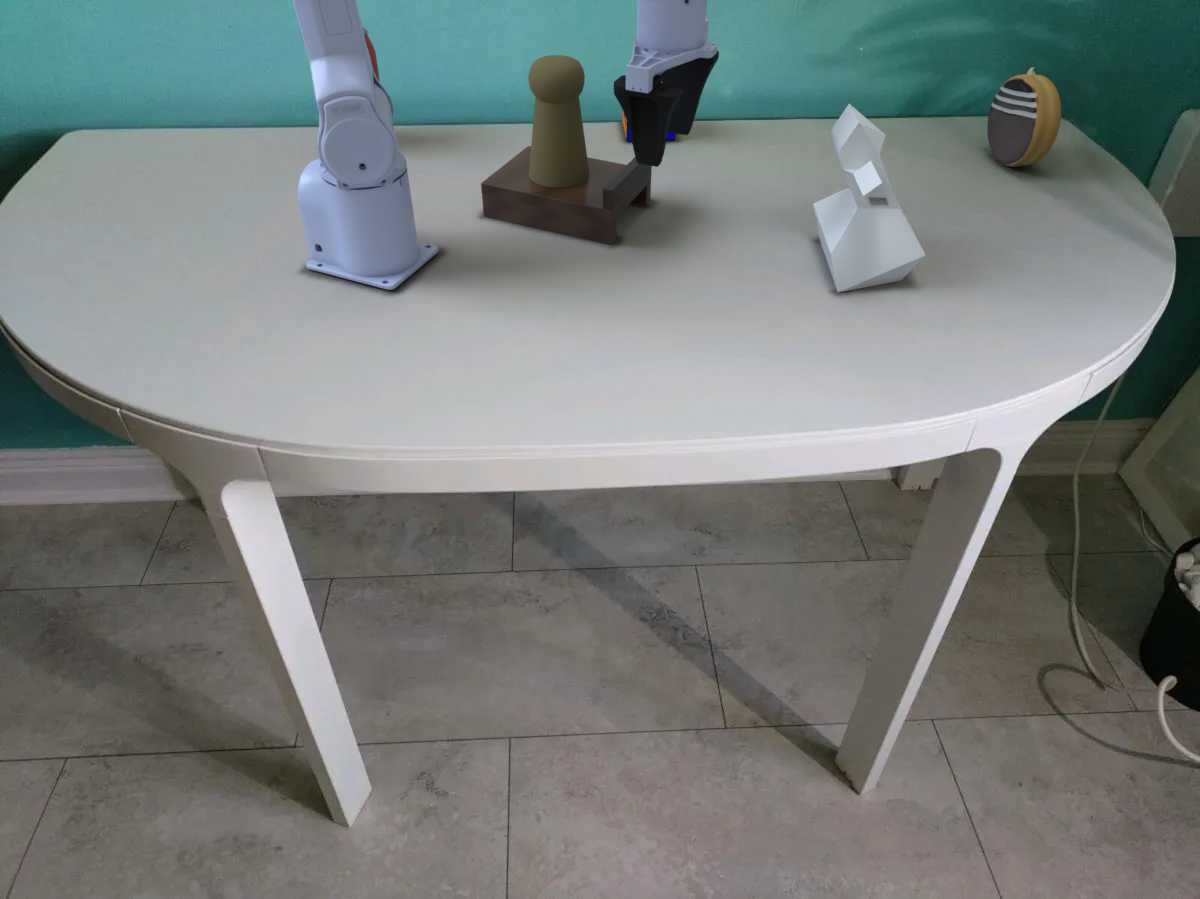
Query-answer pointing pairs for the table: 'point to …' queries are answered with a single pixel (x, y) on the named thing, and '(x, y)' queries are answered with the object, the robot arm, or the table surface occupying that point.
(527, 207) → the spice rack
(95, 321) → the table surface
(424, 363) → the table surface
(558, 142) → the olive chess pawn
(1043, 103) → the doughnut
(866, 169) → the white faceted sculpture
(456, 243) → the table surface
